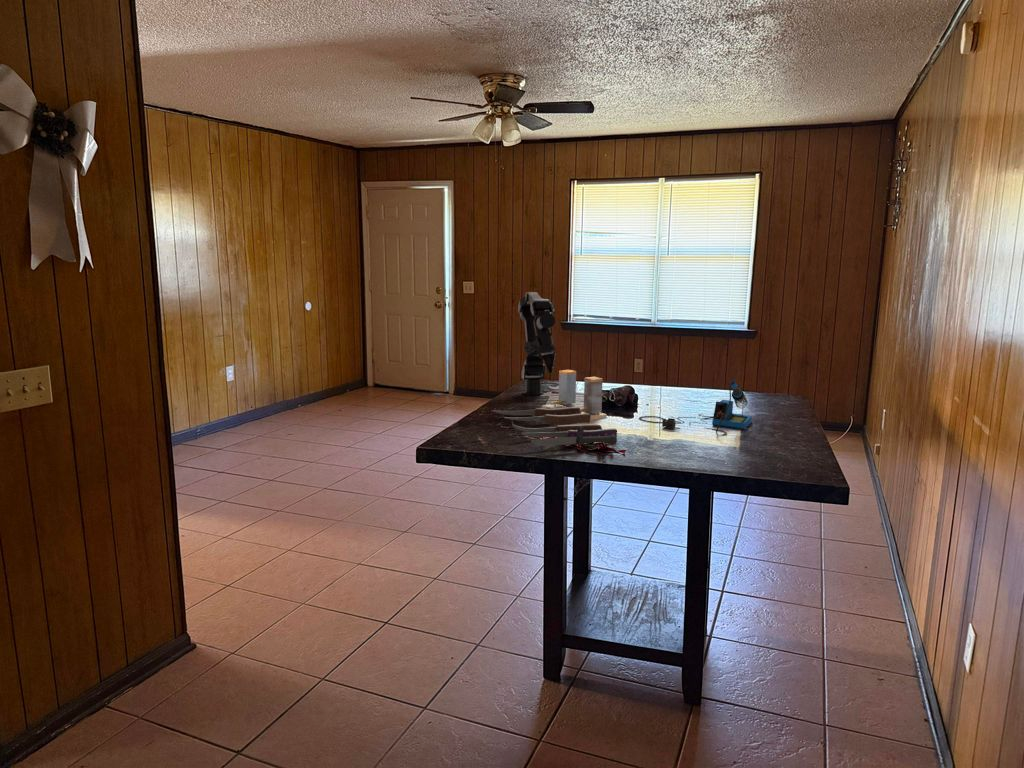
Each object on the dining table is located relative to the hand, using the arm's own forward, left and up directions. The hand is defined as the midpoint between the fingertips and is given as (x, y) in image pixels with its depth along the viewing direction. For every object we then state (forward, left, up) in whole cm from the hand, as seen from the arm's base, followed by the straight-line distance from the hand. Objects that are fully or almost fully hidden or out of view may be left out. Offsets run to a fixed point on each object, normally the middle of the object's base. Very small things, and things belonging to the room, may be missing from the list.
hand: (550, 373), depth 262 cm
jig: (+16, -2, -12) cm, 20 cm away
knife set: (+37, -27, -12) cm, 47 cm away
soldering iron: (+48, +25, -13) cm, 55 cm away
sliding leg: (+10, -2, -10) cm, 14 cm away
